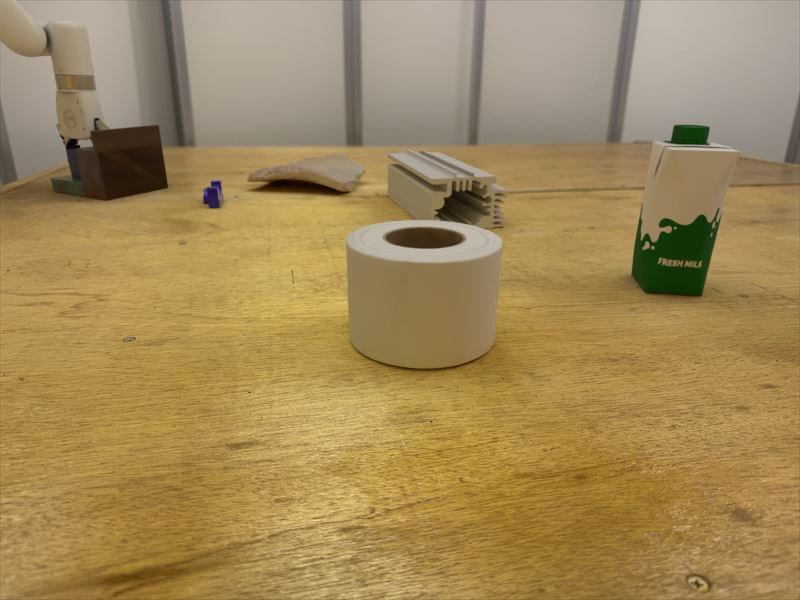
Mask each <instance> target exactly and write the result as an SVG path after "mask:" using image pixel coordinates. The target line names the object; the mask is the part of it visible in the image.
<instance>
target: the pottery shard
mask: <svg viewBox="0 0 800 600" xmlns="http://www.w3.org/2000/svg"><path fill="white" fill-rule="evenodd" d="M366 173H367V172H366V167H365V166H364V165H362V164H360V163H358V162H355V161H353V160H351V159H350V157H349V156H348V155H345V154H334V153H333V154H332V153H331V154H330V155H326V156H325V157H322V156H309V157H305V158H304V159H300V160H297V161H292V162H288V163H285V164H280V165H278V166H270V167H262V168H258V169H256V170H255V171H254V172H253V173H249V176H248V177H247V179H246V182H247V183H274V182H279V181H285V180H294V181H295V180H297V181H306V182H310V183H314V184H317V185H322V186H325V187H328V188H331V189H333V190H337V191H339V192H352V191H353V190H354V188H355V187H356V186H357V184H358V183H359V182H360V181H361V179H362V177H363V176H364V175H365V174H366Z"/></svg>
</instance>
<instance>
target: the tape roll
mask: <svg viewBox="0 0 800 600" xmlns="http://www.w3.org/2000/svg"><path fill="white" fill-rule="evenodd" d="M345 249H346V253H345V254H346V277H347V278H346V281H347V282H346V283H347V308H348V309H347V311H348V315H347V316H348V337H349V341H350V343H351V345H352V346H353V347H354V348H355V349H356V351H358V352H360V353H361V354H362V355H363V356H366V357H367V358H369V359H371V360H374V361H377V362H379V363H382V364H385V365H386V364H387V365H390V366H395V367H402V368H409V369H442V368H449V367H455V366H458V365H463V364H465V363H468V362H472V361H474V360H476V359H479V358H480V357H482V356H484V355H485V354H487V353H488V351H490V349H491V348H492V346H494V344H495V340H496V326H497V317H498V316H497V315H498V314H497V313H498V304H499V303H498V302H499V291H500V290H499V289H500V279H501V277H500V276H501V267H502V265H501V264H502V255H503V240H502V238H501V237H500V236H499V235H497V234H496V233H494V231H493V232H492V231H491V230H489V229H487V228H485V229H483V228H480V227H476V226H472V225H468V224H462V223H456V222H447V221H434V220H416V219H408V220H407V219H406V220H390V221H384V222H378V223H374V224H369V225H365V226H363V227H360V228H357V229H355V230H353V231H352V232H350V233H349V234H348V235H347V237H346V239H345Z"/></svg>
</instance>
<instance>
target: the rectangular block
mask: <svg viewBox="0 0 800 600" xmlns="http://www.w3.org/2000/svg"><path fill="white" fill-rule="evenodd" d="M90 147H93V145H92V146H85V147H83V148H90ZM81 148H82V147H80V148H76V149H81ZM65 152H67V153H66V157H67V156H68V158H67V162H68V161H69V163H68V165H69V170H70V175H72V177H75V178H81V174H80V170H79V165H78V160H77V156H76V151H75V149H67V150H66V149H65Z"/></svg>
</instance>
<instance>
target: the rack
mask: <svg viewBox="0 0 800 600" xmlns="http://www.w3.org/2000/svg"><path fill="white" fill-rule="evenodd" d="M90 134H91V139H92V142H91V144H92V146H93V147H92V146H89V147H90V148H84V147H80V148H81V149H75V151H76V156H77V160H78V165H79V170H80V174H81V178H75V177H72V175H71V174H69V175H62V176H56V177H51V178H50V182H51V187H52V191H53V192H54V193H60V194H66V195H72V196H78V197H82V198H90V199H95V200H101V201H106V202H107V201H112V200H116V199H120V198H121V199H122V198H126V197H130V196H135V195H140V194H145V193H149V192H150V193H151V192H154V191H159V190H164V189H168V188H169V182H168V177H167V176H168V175H167V171H166V170H167V169H166V163H165V156H164V151H163V144H162V137H161V131H160V125H159V124H149V125H139V126H128V127H117V128H110V129H105V130H94V131H90Z"/></svg>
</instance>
